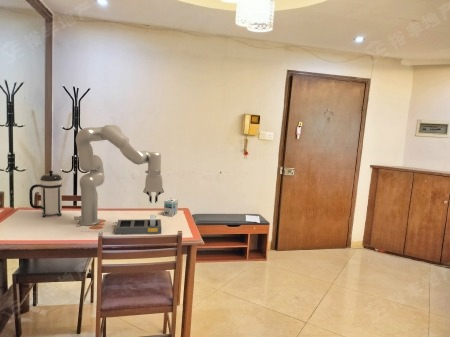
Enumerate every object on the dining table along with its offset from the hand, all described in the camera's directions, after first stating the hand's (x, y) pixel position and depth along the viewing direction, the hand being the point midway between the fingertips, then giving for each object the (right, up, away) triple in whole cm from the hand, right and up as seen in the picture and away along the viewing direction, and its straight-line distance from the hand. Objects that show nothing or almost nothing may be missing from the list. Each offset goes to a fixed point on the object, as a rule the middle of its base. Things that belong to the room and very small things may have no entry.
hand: (153, 202), depth 200 cm
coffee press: (-73, -11, +19) cm, 77 cm away
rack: (-9, -17, +1) cm, 19 cm away
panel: (-1, -16, +2) cm, 16 cm away
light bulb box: (+4, -13, +37) cm, 40 cm away
